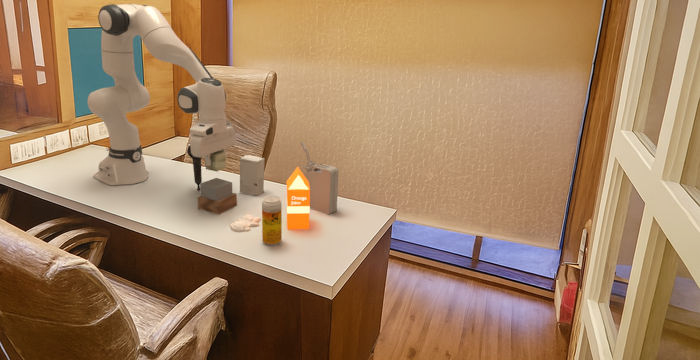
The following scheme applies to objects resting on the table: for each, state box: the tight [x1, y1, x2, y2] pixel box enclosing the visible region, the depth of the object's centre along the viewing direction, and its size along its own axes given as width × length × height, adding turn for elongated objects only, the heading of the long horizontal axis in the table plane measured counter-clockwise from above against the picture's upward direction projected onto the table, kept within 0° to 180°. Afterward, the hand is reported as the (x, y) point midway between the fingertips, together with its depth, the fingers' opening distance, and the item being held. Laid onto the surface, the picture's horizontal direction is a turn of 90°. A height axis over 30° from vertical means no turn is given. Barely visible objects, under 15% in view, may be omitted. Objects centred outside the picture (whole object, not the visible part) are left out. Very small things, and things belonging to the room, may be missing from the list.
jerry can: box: [300, 141, 339, 215], centre depth 178 cm, size 15×5×25 cm, turn 54°
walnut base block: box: [196, 192, 238, 216], centre depth 177 cm, size 10×10×5 cm
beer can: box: [261, 195, 283, 247], centre depth 151 cm, size 6×6×15 cm
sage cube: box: [204, 151, 227, 172], centre depth 171 cm, size 5×5×6 cm
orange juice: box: [285, 166, 311, 230], centre depth 164 cm, size 8×9×20 cm
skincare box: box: [239, 154, 265, 197], centre depth 191 cm, size 8×6×15 cm
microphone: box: [186, 145, 203, 192], centre depth 189 cm, size 7×7×20 cm
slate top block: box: [199, 177, 233, 201], centre depth 175 cm, size 8×8×5 cm
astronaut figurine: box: [229, 213, 261, 233], centre depth 164 cm, size 9×12×3 cm
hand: (215, 162), depth 172 cm, fingers closed on sage cube, 5 cm apart
